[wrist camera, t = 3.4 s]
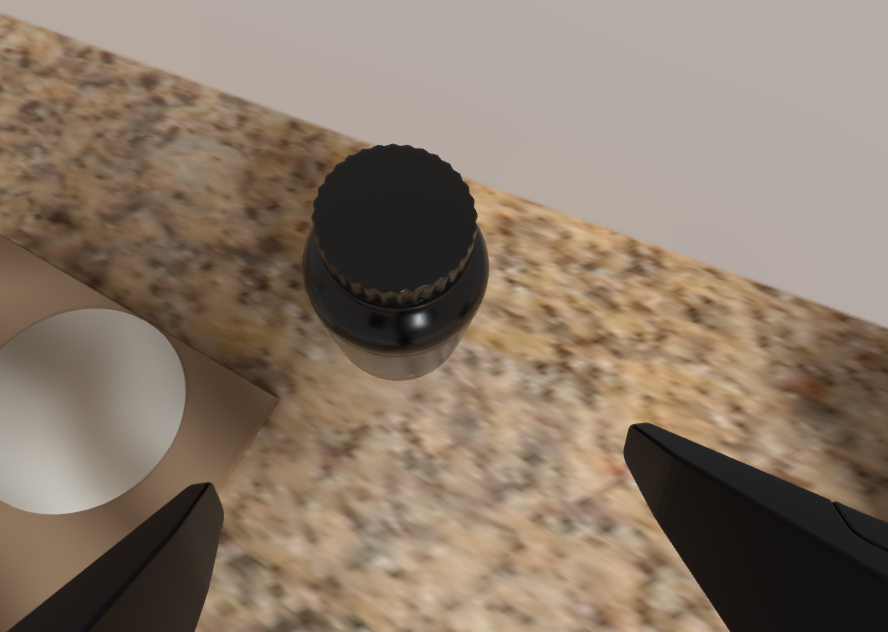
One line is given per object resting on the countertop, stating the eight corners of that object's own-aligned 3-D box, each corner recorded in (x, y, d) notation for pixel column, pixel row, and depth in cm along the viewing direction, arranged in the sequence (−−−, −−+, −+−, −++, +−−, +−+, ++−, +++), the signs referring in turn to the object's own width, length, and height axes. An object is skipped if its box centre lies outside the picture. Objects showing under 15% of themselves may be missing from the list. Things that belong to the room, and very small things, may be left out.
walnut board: (98, 671, 19) (70, 692, 17) (-203, 476, 20) (-257, 479, 18) (280, 398, 23) (270, 395, 21) (18, 244, 24) (-9, 229, 22)
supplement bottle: (325, 272, 25) (260, 123, 13) (446, 252, 26) (484, 97, 14) (345, 397, 23) (290, 348, 12) (474, 370, 24) (542, 301, 13)
